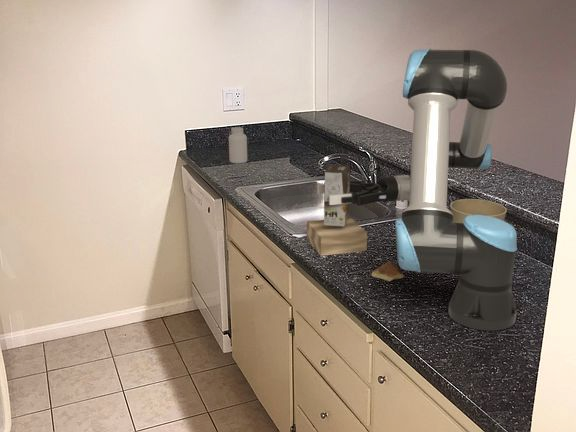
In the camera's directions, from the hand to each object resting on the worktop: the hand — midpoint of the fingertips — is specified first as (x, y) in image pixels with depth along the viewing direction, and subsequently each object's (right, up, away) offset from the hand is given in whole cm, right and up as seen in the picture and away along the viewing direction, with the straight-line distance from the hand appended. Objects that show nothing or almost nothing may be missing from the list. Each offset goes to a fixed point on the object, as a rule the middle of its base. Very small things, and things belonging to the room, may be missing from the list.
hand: (323, 194), depth 191 cm
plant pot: (+42, -19, -6) cm, 46 cm away
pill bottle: (-32, +18, +102) cm, 108 cm away
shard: (+16, -22, -13) cm, 30 cm away
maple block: (+4, -15, +6) cm, 17 cm away
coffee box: (+4, -8, +4) cm, 10 cm away
